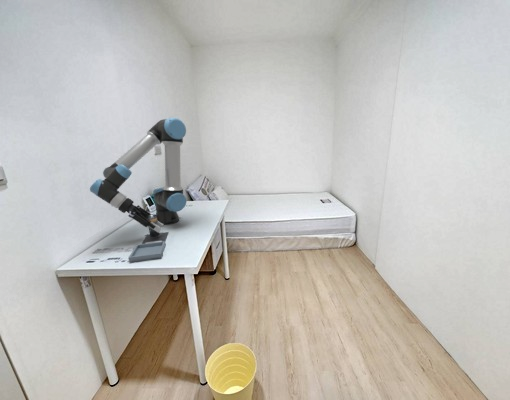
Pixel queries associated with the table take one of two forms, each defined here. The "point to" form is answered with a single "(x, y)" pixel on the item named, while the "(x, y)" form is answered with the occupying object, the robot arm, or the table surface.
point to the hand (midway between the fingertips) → (161, 228)
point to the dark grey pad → (155, 238)
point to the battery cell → (154, 219)
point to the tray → (147, 252)
